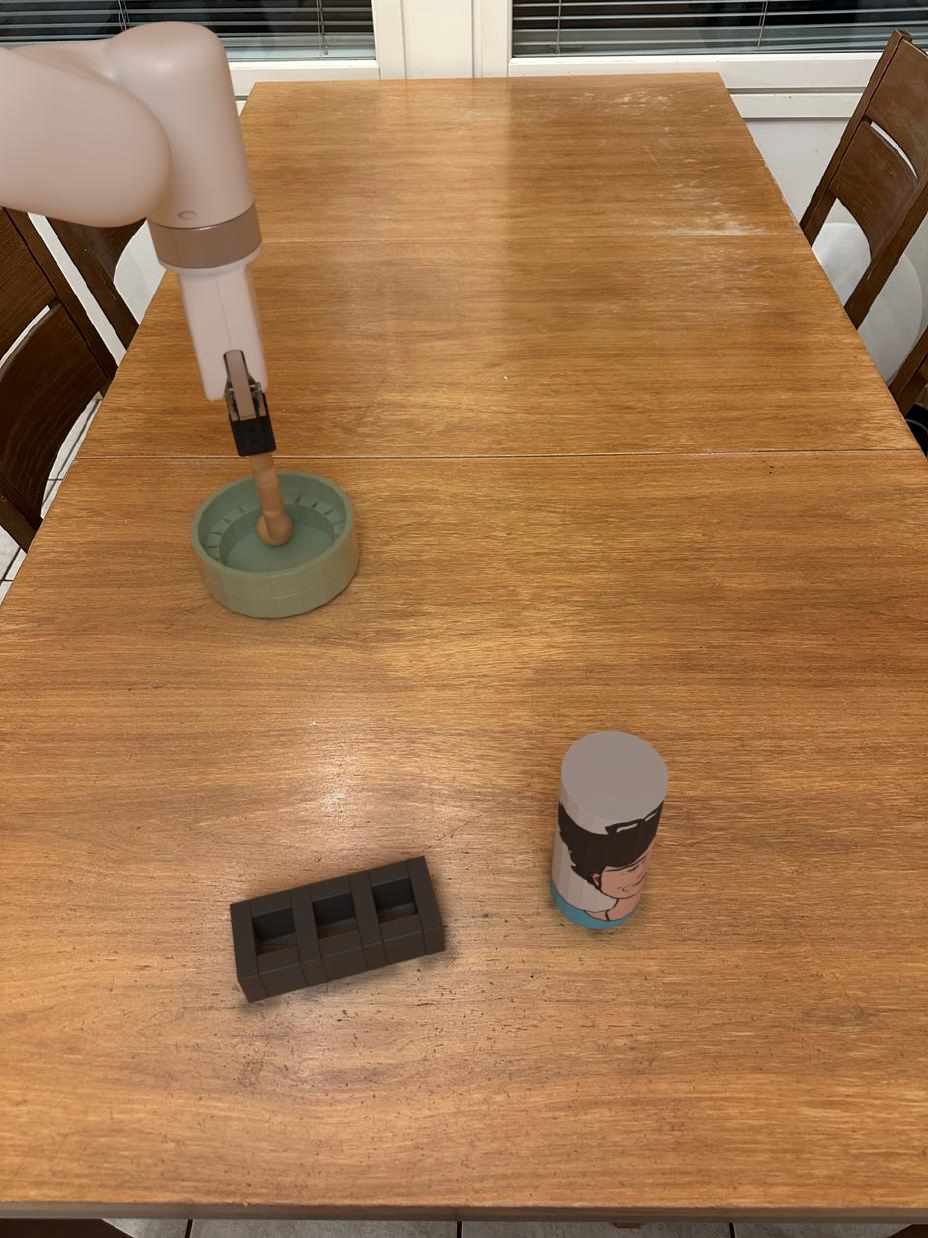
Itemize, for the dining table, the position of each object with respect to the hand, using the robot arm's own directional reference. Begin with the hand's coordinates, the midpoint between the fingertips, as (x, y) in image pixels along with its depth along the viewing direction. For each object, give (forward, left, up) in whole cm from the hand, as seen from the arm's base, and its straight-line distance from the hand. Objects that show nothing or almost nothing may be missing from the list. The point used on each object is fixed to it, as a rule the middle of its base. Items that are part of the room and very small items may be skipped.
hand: (255, 441), depth 80 cm
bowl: (0, +3, -17) cm, 18 cm away
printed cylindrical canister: (+18, -38, -17) cm, 45 cm away
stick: (0, 0, -11) cm, 11 cm away
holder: (-1, -37, -17) cm, 41 cm away
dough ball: (0, +6, -15) cm, 16 cm away
